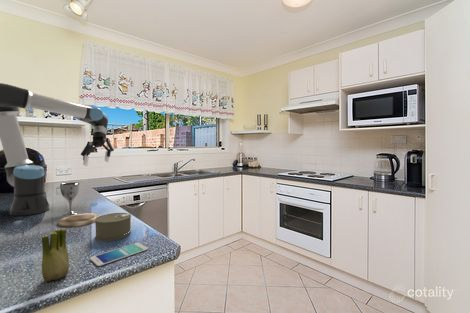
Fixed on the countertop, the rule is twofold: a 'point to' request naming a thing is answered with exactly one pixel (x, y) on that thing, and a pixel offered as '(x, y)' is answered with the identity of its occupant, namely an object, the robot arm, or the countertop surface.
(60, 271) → the fennel bulb
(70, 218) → the trivet
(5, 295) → the countertop surface
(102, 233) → the can
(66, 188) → the wine glass
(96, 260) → the smartphone
